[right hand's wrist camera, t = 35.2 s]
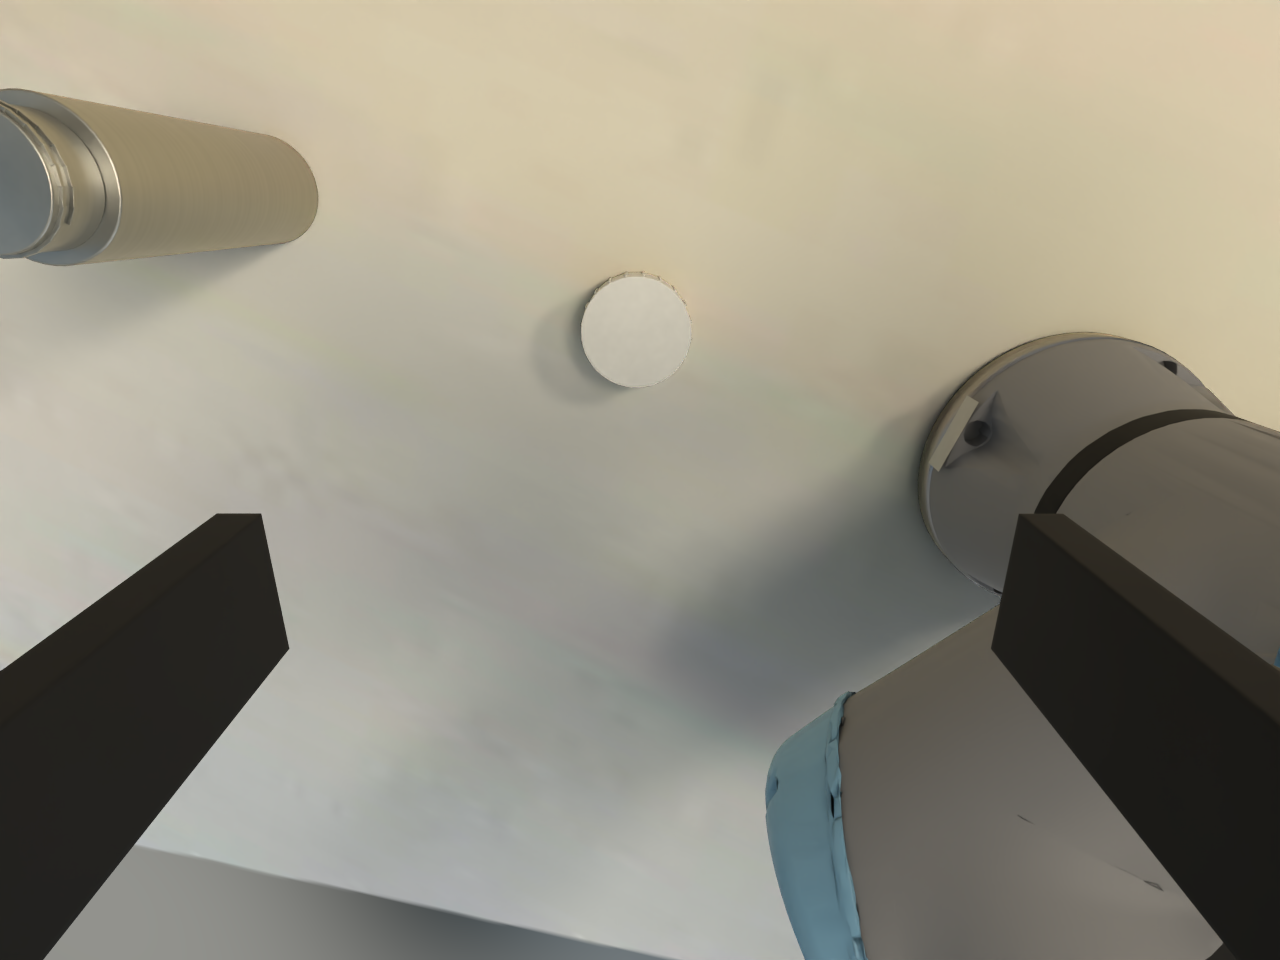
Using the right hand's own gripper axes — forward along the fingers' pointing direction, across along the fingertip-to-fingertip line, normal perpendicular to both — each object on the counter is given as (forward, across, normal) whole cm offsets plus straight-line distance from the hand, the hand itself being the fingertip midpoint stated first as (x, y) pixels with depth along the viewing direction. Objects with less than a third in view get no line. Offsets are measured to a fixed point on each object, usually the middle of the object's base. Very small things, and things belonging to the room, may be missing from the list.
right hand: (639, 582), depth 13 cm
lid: (+25, 0, 0) cm, 25 cm away
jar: (+27, +18, -7) cm, 33 cm away
